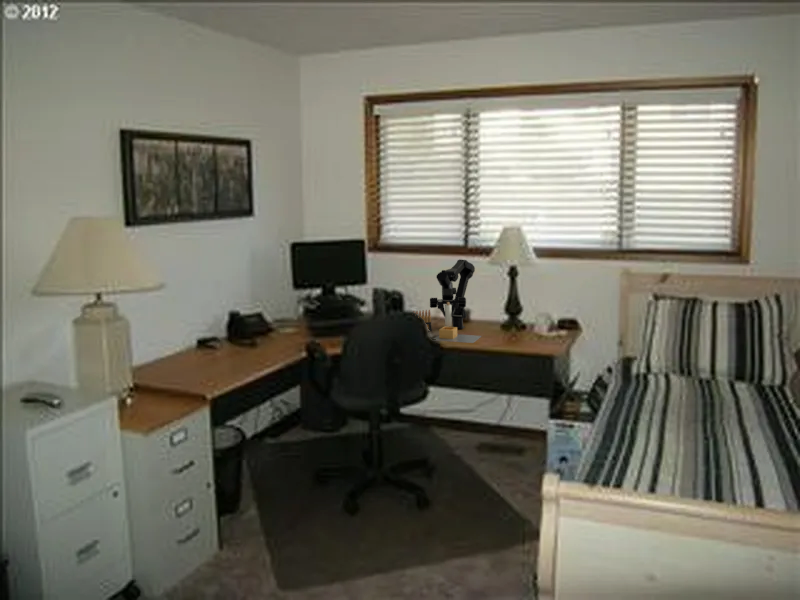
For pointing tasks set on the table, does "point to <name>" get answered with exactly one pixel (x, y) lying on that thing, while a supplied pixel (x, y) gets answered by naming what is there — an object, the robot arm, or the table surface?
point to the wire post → (448, 315)
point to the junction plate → (454, 336)
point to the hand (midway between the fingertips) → (448, 316)
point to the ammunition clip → (426, 318)
